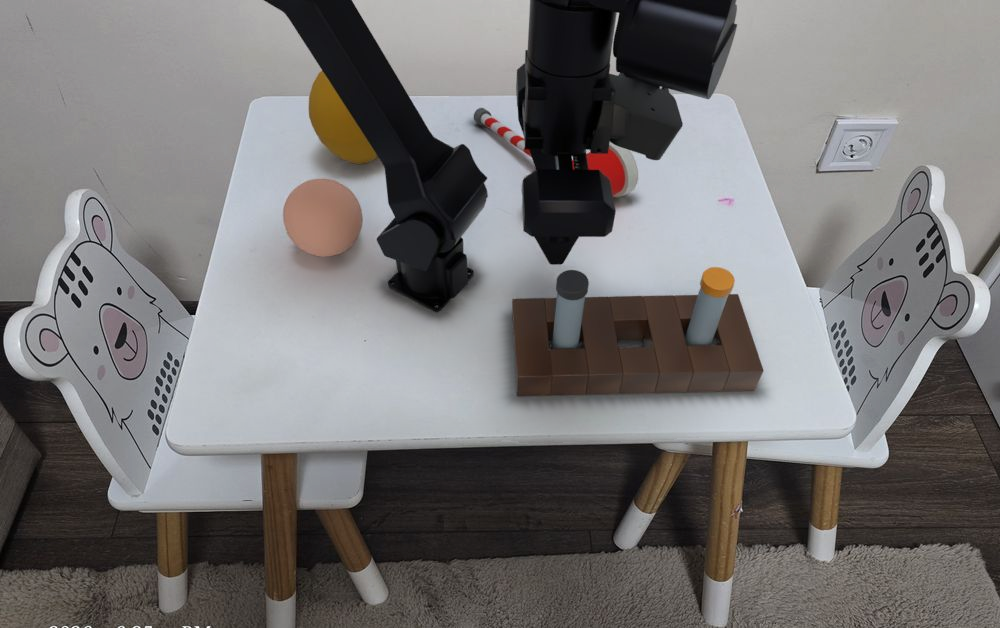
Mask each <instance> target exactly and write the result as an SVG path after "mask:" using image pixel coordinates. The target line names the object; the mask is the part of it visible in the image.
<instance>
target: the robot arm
mask: <svg viewBox="0 0 1000 628" xmlns="http://www.w3.org/2000/svg"><path fill="white" fill-rule="evenodd" d="M263 2H265V3H267V4H269V5H270V6H272V7H274V8H276V9H277V10H279V11H281V12H282V13H283V14H285V16H286V17H287V18H288V20H289V21H290V23H291V25H292V26H293V27H294V29H295V31H296V32H297V34H298V36H299V37H300V38H301V40H302V41H303V43H304V45H305V46H306V48H307V49H308V51H309V53H310V54H311V56H312V57H313V59H314V60H315V61H316V63H317V64H318V67H319V68H320V69H321V71H323V72H324V74H325V75H326V77H327V79H328V80H329V82H330V83H331V85H332V86H333V88H334V89H335V91H336V92H337V94H338V96H339V97H340V99H341V100H342V102H343V103H344V105H345V106H346V108H347V109H348V111H349V113H350V114H351V116H352V117H353V119H354V120H355V122H356V123H357V125H358V126H359V128H360V130H361V131H362V133H363V134H364V136H365V137H366V139H367V140H368V142H369V143H370V145H371V147H372V148H373V150H374V151H375V153H376V154H377V158H378V159H379V160H380V163H381V164H382V165H383V167H384V173H385V174H384V175H385V184H386V185H385V186H386V194H387V196H386V197H387V204H388V206H389V208H390V210H391V212H392V215H393V216H394V217H393V219H391V221H390V222H389V223H388V225H387V226H386V227H385V228H384V230H382V231H381V233H380V234H379V235H378V236H377V237H376V239H375V240H376V242H377V244H378V246H379V248H380V250H381V252H382V254H383V256H384V257H386V258H388V259H391V260H394V261H395V265H396V273H395V274H393V276H392V277H390V278H389V280H388V281H387V286H388V288H389V289H391V290H392V291H395V292H396V293H398V294H400V295H402V296H404V297H406V298H408V299H409V300H411V301H413V302H415V303H417V304H419V305H420V306H423V307H425V308H426V309H429V310H430V311H432V312H434V313H439V312H440V311H441V310H442V309H444V308H445V307H446V305H447V304H449V302H450V301H451V300H453V299H455V298H456V297H457V296H458V295H459V294H460V293H461V292H462V291H463V289H465V287H466V286H468V284H469V282H470V281H471V280H472V279H473V277H474V276H475V272H474V270H473V269H472V268H470V267H468V255H467V254H466V253H464V251H465V250H464V238H463V235H464V234H465V233H466V231H467V230H468V229H469V228H470V226H471V225H472V224H473V223H474V221H475V220H476V218H477V217H478V216H479V215H480V213H481V212H482V211H483V209H484V208H485V206H486V202H487V199H488V197H489V194H488V189H487V186H486V184H485V182H486V181H487V180H488V176H487V175H486V174H484V173H483V171H481V170H480V168H479V167H478V165H477V164H476V162H475V159H474V157H473V155H472V152H471V150H470V148H469V147H468V146H467V145H466V144H464V143H460V144H459V145H456V146H455V147H453V146H451V145H450V144H448V143H446V142H443V141H442V140H440V139H438V138H436V137H435V136H434V135H433V134H432V132H431V131H430V129H429V128H428V126H427V124H426V123H425V121H424V119H423V117H422V116H421V114H420V113H419V110H418V109H417V108H416V106H415V104H414V102H413V100H412V99H411V97H410V96H409V94H408V92H407V91H406V89H405V87H404V86H403V83H402V82H401V80H400V78H399V77H398V75H397V74H396V71H394V69H393V67H392V65H391V63H390V62H389V59H387V57H386V55H385V54H384V52H383V50H382V49H381V47H380V45H379V44H378V42H377V40H376V38H375V37H374V35H373V33H372V31H371V30H370V29H369V28H370V27H368V25H367V23H366V21H365V20H364V18H363V17H362V15H361V13H360V11H359V9H358V8H357V7H356V5H355V3H354V1H353V0H263ZM736 3H737V0H529V12H528V13H529V15H528V34H527V49H525V51H524V62H523V64H521V66H519V67H518V68H517V69H516V85H515V92H516V93H515V95H516V107H517V119H518V123H519V126H520V128H521V129H520V130H521V131H522V134H523V138H524V144H525V149H529V151H530V154H531V157H532V158H531V157H530V158H531V160H532V162H533V165H534V168H535V170H534V171H532V172H531V174H530V173H529V174H530V175H528V174H527V175H528V176H527V177H526V178H524V177H523V178H522V181H523V188H522V187H521V189H522V190H521V199H522V200H521V209H522V228H523V232H524V233H526V234H527V235H529V236H530V237H531V238H534V240H535V241H536V243H537V244H538V246H539V248H540V249H541V251H542V253H543V255H544V257H545V259H546V261H547V262H548V264H549V265H551V266H555V265H557V266H558V265H559V266H561V265H563V264H564V263H565V262H566V260H567V258H568V256H569V255H570V253H571V251H572V249H573V248H574V246H575V244H576V242H577V241H578V239H579V238H583V237H584V238H606V237H607V236H609V234H611V233H612V232H613V228H614V223H615V217H616V211H617V210H616V205H615V200H614V197H613V194H612V188H611V182H610V179H608V178H607V177H606V176H605V175H604V174H603V173H602V172H601V171H600V170H589V168H588V162H587V155H586V154H587V151H590V152H591V153H592V154H608V149H609V143H610V142H611V143H613V144H614V145H616V146H619V147H622V148H625V149H628V150H630V151H631V152H634V153H637V154H640V155H644V156H645V158H646V159H648V160H652V161H660V160H661V159H662V157H663V156H664V154H665V153H666V152H667V150H668V148H669V147H670V146H671V144H672V143H673V141H674V139H675V138H676V136H677V135H678V134H679V132H680V131H681V129H682V127H683V126H684V125H683V120H682V116H681V113H680V109H679V106H678V102H677V99H676V98H675V97H674V95H673V94H671V93H670V90H671V91H675V92H679V93H682V94H686V95H691V96H693V97H696V98H702V99H705V100H710V99H711V98H712V96H713V94H714V93H715V90H716V89H717V87H718V85H719V82H720V79H721V77H722V74H723V72H724V69H725V67H726V64H727V60H728V58H729V55H730V51H731V49H732V46H733V42H734V39H735V36H736V31H737V28H738V24H737V23H735V22H736V18H737V13H738V5H737V4H736ZM617 15H618V18H617ZM616 21H617V23H616ZM612 55H613V58H615V72H617V73H618V75H617V74H613V73H610V71H611V58H612V57H611V56H612ZM572 160H573V163H574V170H573V163H572Z"/></svg>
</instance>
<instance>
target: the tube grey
mask: <svg viewBox="0 0 1000 628" xmlns="http://www.w3.org/2000/svg"><path fill="white" fill-rule="evenodd" d="M555 282H556V284H555V290H556V298H557V300H556V310H555V321H554V331H553V341H552V342H551V343H552V344H551V349H579V337H580V330H581V323H582V315H583V308H584V301H585V297H586V295H587V294H588V292H589V285H590V283H589V278H588V276H587V275H586V274H585V273H584V272H582V271H580V270H577V269H567V270H564V271H562V272H560V273H559V274H558V276H557V278H556V281H555Z"/></svg>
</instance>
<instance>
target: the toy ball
mask: <svg viewBox="0 0 1000 628" xmlns="http://www.w3.org/2000/svg"><path fill="white" fill-rule="evenodd" d="M363 218H364V217H363V210H362V207H361V203H360V202H359V200H358V198H357V196H356V194H355V193H354V192H353V191H352V190H351V189H350V188H348V186H346V185H345V184H343V183H342V182H340V181H337V180H334V179H330V178H323V177H322V178H312V179H310V180H309V179H308V180H306V181H304V182H302V183H300V184H299V185H298V186H296V187H295V188H294V189H292V191H291V192H290V193H288V196H287V198H286V199H285V202H284V204H283V208H282V221H283V225H284V228H285V231H286V234H287V236H288V237H289V239H290V240H291V242H292V244H294V245H295V246H296V247H297V248H299V249H300V250H302V252H305V253H307V254H309V255H312V256H317V257H332V256H337V255H340V254H342V253H345V252H346V251H347V250H349V249H350V248H351V247H352V246H354V244H356V243H355V242H356V241H357V240H358V238H359V236H360V233H361V231H362V227H363Z"/></svg>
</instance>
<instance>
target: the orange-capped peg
mask: <svg viewBox="0 0 1000 628" xmlns="http://www.w3.org/2000/svg"><path fill="white" fill-rule="evenodd" d="M735 282H736V280H735V277H734V275H733V274H732V273H731V271H729V270H728V269H726V268H723V267H720V266H719V267H718V266H713V267H708V268H707V269H705V270H704V271H703V272H702V275H701V278H700V281H699V285H700V288H699V291H698V294H697V295H698V297H697V300H696V304H695V307H694V310H693V313H692V317H691V320H690V323H689V327H688V330H687V333H686V336H685V341H686V345H687V346H708V345H711V343H712V340H713V337H714V334H715V332H716V329H717V326H718V323H719V320H720V317H721V314H722V312H723V309H724V306H725V303H726V300H727V297H728V295H729V294H732V291H733V288H734V286H735Z"/></svg>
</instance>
